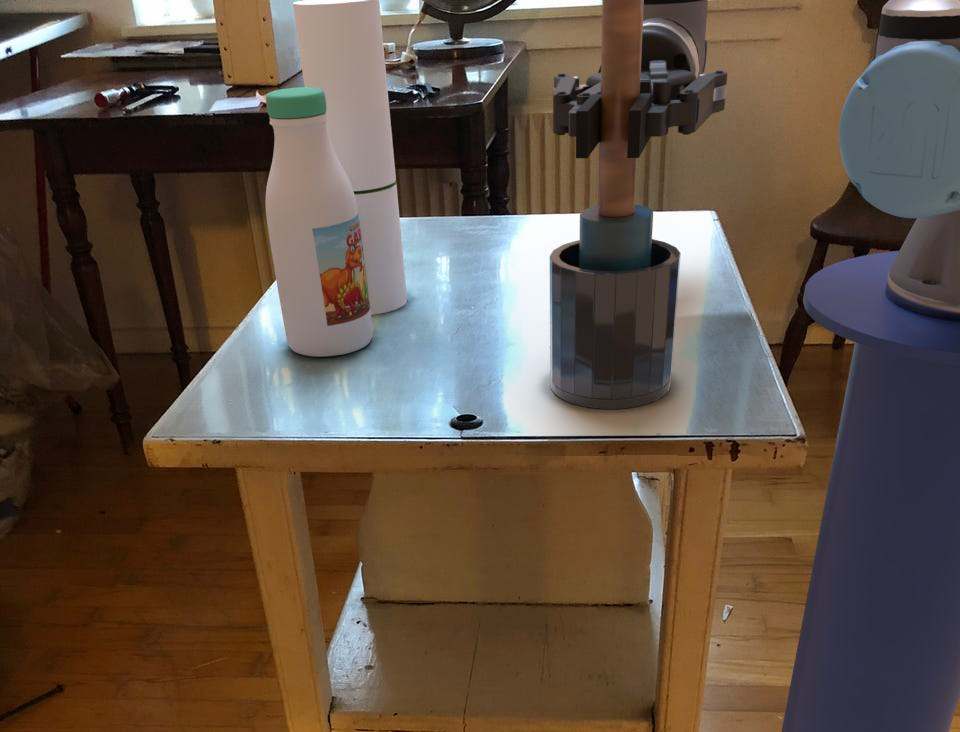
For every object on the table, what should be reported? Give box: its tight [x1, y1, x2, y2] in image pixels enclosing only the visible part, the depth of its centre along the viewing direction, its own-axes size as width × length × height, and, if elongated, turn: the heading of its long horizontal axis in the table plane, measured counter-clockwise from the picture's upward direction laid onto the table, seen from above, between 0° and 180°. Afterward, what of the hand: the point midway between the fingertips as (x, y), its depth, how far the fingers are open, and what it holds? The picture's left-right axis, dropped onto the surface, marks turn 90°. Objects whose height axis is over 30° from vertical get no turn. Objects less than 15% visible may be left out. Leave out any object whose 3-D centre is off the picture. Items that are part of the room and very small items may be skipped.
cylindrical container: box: [292, 0, 408, 316], centre depth 88 cm, size 7×7×25 cm
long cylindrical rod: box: [579, 0, 654, 271], centre depth 66 cm, size 5×5×24 cm
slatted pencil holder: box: [549, 238, 681, 410], centre depth 74 cm, size 9×9×10 cm
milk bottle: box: [265, 86, 374, 358], centre depth 81 cm, size 8×8×20 cm
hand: (607, 134), depth 62 cm, fingers closed on long cylindrical rod, 3 cm apart
